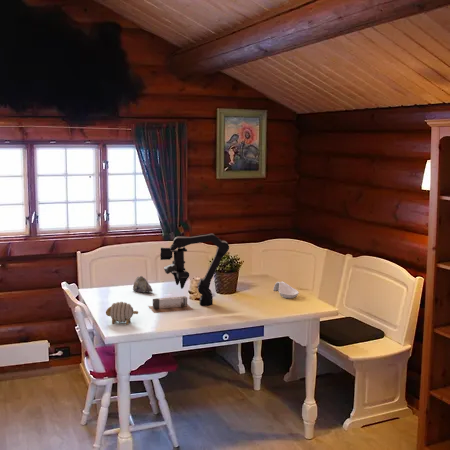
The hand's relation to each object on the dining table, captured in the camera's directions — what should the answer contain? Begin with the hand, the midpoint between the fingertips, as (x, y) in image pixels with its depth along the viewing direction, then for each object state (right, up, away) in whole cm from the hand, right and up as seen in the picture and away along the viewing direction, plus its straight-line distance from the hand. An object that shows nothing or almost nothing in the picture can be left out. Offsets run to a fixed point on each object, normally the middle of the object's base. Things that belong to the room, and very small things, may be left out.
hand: (179, 286), depth 361 cm
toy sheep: (-28, -16, -29) cm, 43 cm away
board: (-5, -13, -5) cm, 14 cm away
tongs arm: (-6, -11, -5) cm, 13 cm away
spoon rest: (+61, -8, +30) cm, 69 cm away
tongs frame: (-5, -11, -4) cm, 13 cm away
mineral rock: (-25, -7, +34) cm, 43 cm away
